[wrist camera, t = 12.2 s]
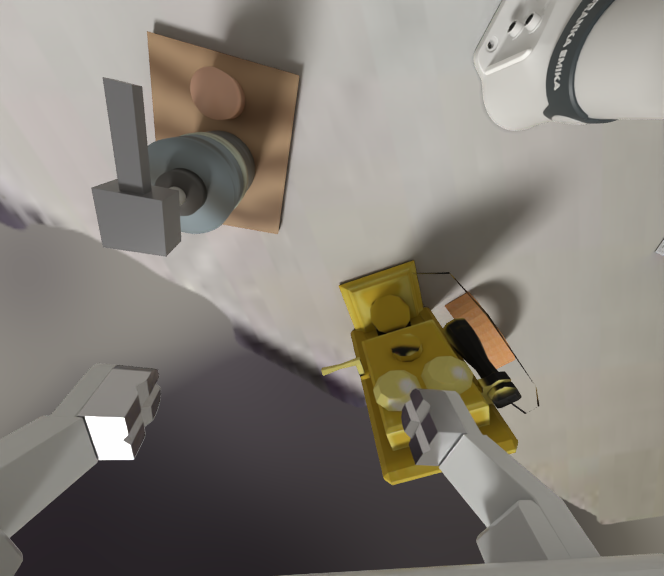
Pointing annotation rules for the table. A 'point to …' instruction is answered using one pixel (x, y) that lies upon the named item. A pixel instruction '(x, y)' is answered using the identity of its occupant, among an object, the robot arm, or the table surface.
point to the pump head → (134, 183)
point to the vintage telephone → (418, 365)
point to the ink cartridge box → (660, 249)
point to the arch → (482, 329)
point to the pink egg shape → (217, 94)
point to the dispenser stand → (220, 139)
